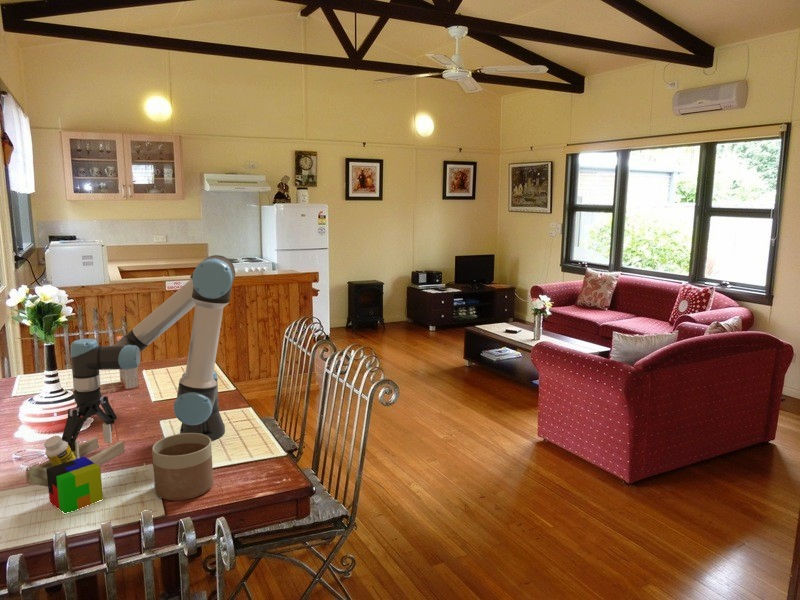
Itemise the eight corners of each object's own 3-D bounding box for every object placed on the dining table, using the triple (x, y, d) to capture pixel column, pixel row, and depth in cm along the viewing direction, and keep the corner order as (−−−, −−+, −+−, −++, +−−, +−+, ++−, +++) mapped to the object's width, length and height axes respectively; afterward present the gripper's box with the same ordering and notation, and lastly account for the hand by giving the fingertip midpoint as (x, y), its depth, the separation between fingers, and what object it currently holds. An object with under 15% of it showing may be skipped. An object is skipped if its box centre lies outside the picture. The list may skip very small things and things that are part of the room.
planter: (165, 476, 179) (162, 433, 176) (218, 474, 180) (216, 432, 178) (147, 503, 163) (143, 456, 161) (205, 501, 165) (203, 455, 162)
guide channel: (124, 451, 195) (123, 437, 194) (59, 488, 171) (58, 472, 170) (94, 446, 199) (93, 432, 198) (27, 482, 174) (25, 467, 173)
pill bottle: (69, 475, 178) (53, 449, 173) (52, 474, 180) (36, 448, 174) (82, 460, 183) (67, 434, 178) (66, 458, 185) (50, 433, 179)
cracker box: (119, 381, 266) (115, 336, 262) (133, 379, 269) (130, 334, 266) (124, 390, 255) (120, 343, 251) (139, 387, 258) (136, 341, 254)
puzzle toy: (87, 488, 171) (84, 456, 169) (103, 500, 165) (100, 466, 163) (49, 502, 164) (46, 468, 162) (65, 515, 157) (61, 480, 155)
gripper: (107, 374, 199) (111, 434, 203) (44, 399, 176) (50, 466, 180) (125, 377, 197) (129, 437, 201) (64, 403, 174) (70, 470, 178)
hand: (92, 451), depth 191 cm, fingers open, 13 cm apart
